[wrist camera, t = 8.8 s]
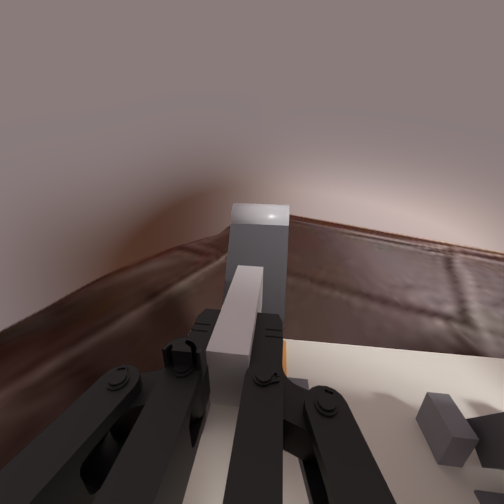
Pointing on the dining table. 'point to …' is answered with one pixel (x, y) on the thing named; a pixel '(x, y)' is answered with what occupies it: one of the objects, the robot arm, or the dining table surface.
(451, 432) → the console
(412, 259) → the dining table surface
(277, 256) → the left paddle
